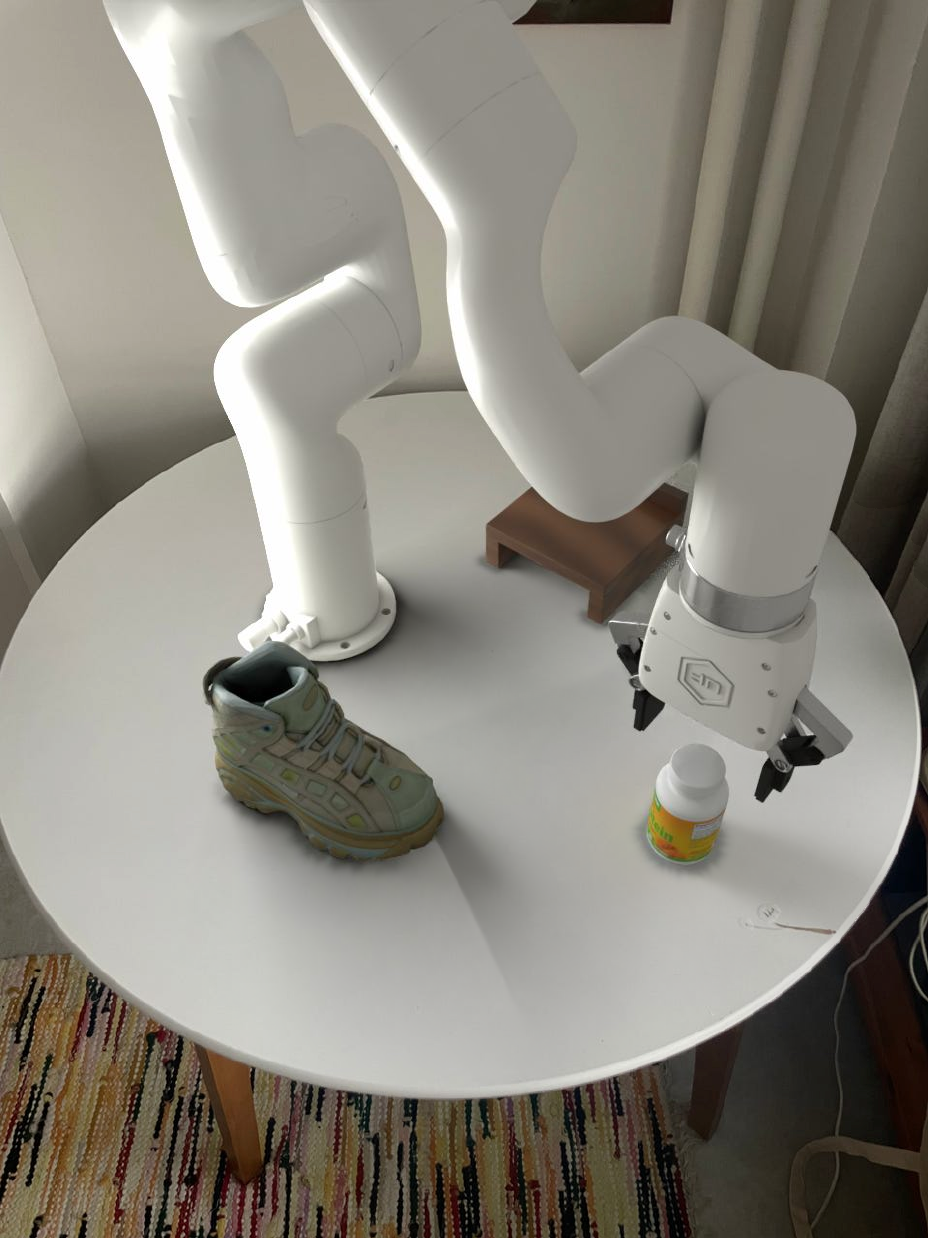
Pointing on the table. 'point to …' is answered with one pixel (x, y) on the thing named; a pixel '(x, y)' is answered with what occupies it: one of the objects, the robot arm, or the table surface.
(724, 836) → the table surface
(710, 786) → the supplement bottle
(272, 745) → the sneaker
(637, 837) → the table surface
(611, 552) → the shelf
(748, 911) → the table surface
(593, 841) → the table surface
